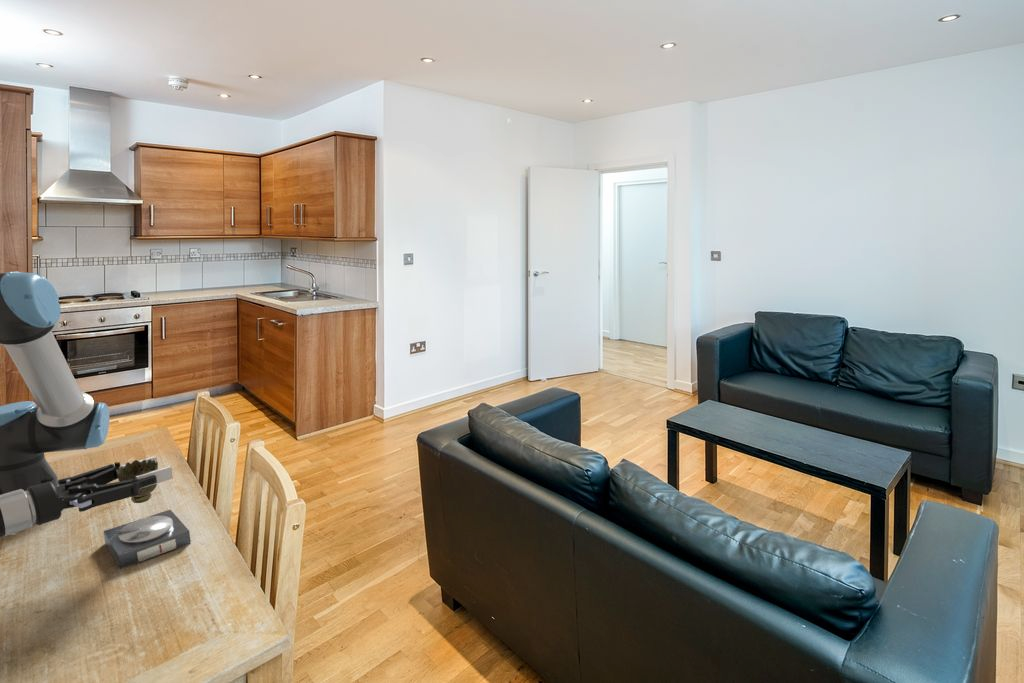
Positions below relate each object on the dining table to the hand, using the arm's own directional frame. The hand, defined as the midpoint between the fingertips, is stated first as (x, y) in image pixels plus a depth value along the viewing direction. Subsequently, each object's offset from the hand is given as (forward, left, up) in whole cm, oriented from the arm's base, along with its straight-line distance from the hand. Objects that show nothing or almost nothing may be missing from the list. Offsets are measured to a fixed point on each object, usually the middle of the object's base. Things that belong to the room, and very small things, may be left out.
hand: (163, 467), depth 121 cm
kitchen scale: (0, -5, -16) cm, 17 cm away
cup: (0, -5, -6) cm, 8 cm away
